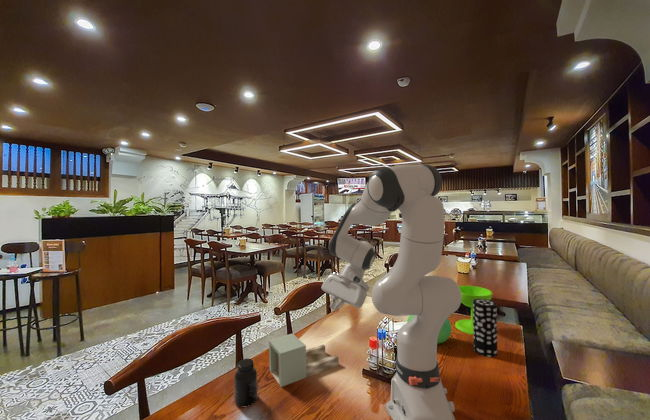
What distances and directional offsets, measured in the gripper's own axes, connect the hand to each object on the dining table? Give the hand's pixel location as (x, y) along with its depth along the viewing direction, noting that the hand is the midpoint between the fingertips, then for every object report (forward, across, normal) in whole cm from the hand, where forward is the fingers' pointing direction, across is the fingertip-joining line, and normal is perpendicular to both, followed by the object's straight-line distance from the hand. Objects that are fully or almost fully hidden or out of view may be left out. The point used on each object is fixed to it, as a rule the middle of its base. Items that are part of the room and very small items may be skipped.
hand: (333, 308), depth 108 cm
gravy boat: (-12, +21, +42) cm, 48 cm away
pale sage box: (+28, -2, -1) cm, 28 cm away
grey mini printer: (+24, -1, +3) cm, 24 cm away
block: (+27, -2, -1) cm, 27 cm away
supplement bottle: (+38, -1, -14) cm, 41 cm away
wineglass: (-29, +30, +62) cm, 75 cm away
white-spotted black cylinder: (-18, +41, +46) cm, 65 cm away
